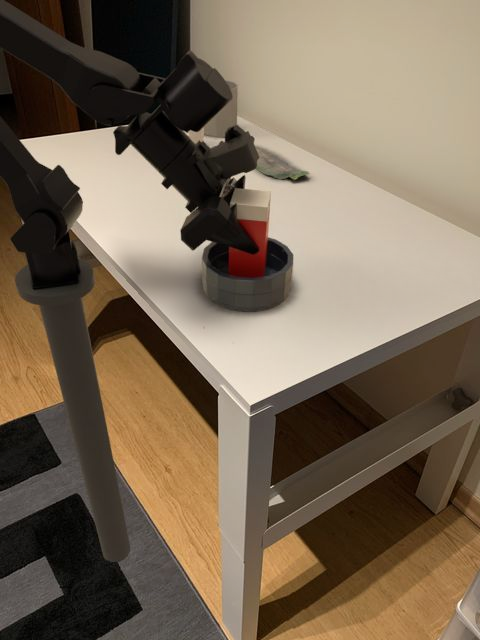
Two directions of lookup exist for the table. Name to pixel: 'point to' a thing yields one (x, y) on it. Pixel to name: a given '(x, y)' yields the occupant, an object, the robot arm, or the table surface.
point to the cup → (224, 116)
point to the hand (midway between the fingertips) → (258, 242)
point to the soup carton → (251, 232)
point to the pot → (247, 279)
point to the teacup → (196, 135)
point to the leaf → (276, 166)
